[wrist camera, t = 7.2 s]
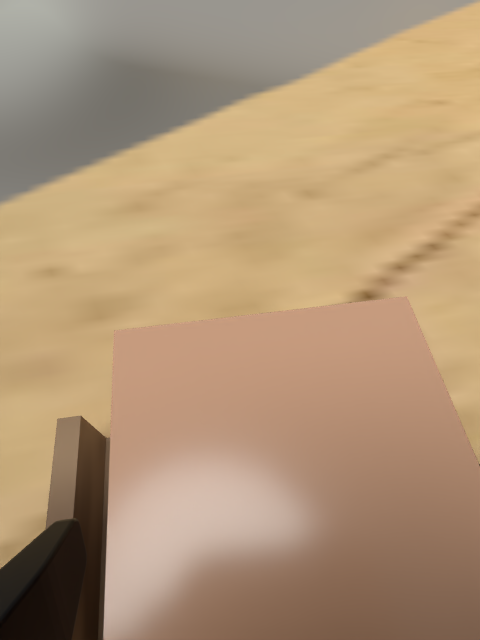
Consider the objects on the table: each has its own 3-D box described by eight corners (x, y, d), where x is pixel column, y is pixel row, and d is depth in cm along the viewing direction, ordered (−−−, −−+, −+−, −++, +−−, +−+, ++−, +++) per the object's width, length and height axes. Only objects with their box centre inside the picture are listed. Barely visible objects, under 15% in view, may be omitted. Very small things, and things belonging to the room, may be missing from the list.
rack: (470, 663, 13) (545, 698, 10) (75, 735, 12) (16, 798, 9) (384, 406, 18) (416, 372, 15) (92, 445, 17) (57, 418, 14)
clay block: (330, 623, 13) (647, 856, 3) (211, 643, 13) (92, 980, 3) (298, 467, 16) (406, 296, 5) (198, 482, 15) (114, 330, 5)
